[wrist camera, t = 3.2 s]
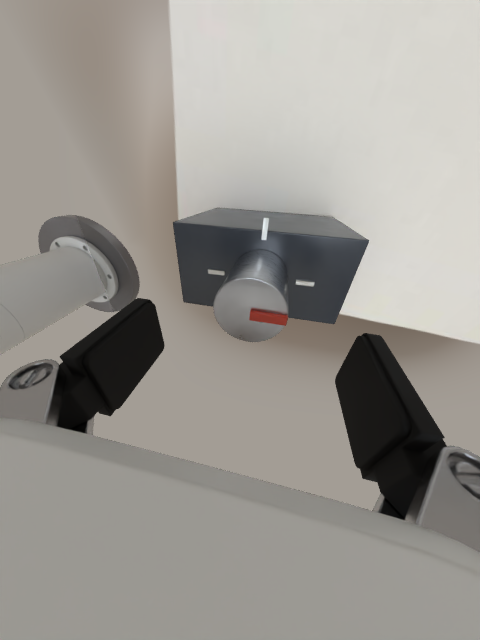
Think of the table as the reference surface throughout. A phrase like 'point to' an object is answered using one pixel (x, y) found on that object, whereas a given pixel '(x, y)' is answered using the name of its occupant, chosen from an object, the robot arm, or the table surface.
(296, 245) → the dial panel
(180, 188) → the table surface
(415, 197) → the table surface
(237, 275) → the program dial
